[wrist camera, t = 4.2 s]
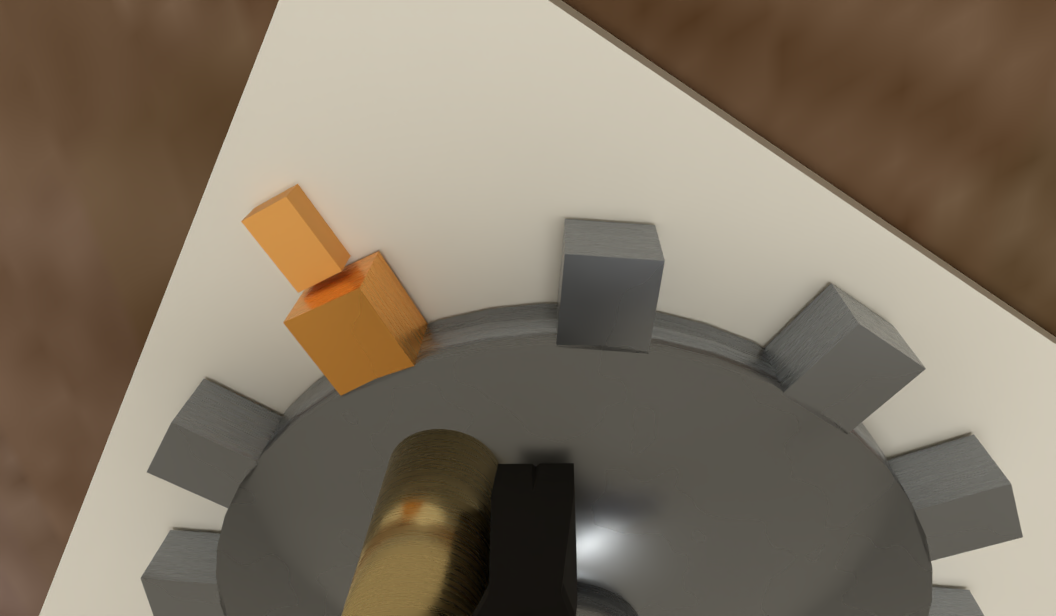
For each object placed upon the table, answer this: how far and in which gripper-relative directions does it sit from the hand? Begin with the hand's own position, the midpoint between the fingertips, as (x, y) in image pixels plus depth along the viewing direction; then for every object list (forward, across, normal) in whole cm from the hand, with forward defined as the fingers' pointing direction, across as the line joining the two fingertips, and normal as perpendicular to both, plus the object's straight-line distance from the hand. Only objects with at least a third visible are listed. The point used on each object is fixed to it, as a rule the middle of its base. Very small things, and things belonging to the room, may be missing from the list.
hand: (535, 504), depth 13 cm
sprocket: (+2, 0, +5) cm, 6 cm away
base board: (+3, 0, +5) cm, 6 cm away
